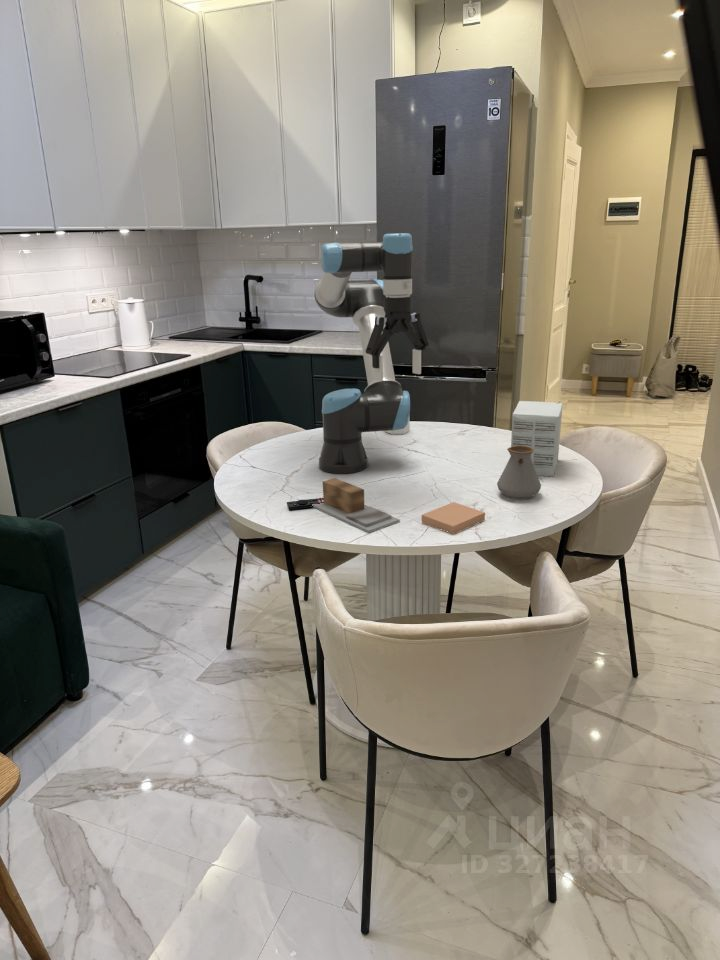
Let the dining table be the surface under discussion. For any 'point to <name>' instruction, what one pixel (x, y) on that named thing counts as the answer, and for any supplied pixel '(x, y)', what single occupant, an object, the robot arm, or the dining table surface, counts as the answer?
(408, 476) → the dining table surface
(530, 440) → the supplement box
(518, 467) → the coffee pot
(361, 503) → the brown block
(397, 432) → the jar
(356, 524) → the rest mat
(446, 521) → the tile
